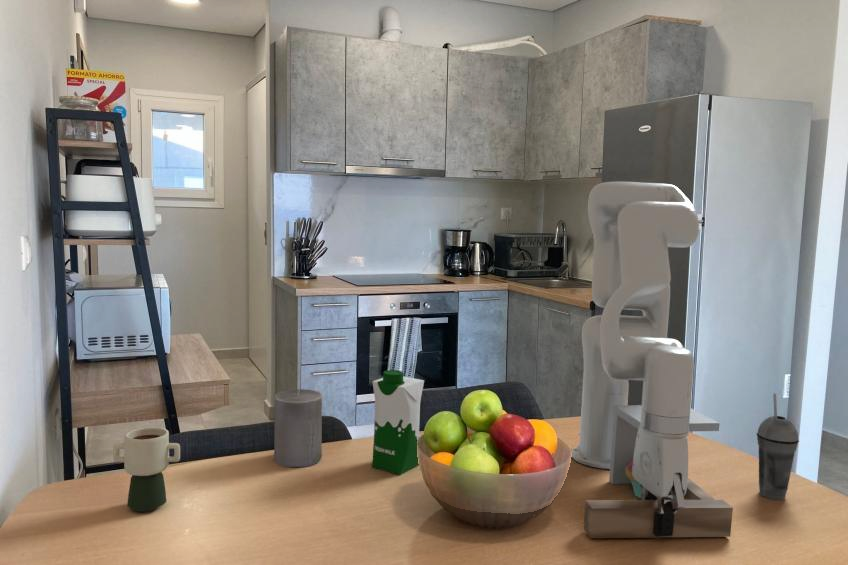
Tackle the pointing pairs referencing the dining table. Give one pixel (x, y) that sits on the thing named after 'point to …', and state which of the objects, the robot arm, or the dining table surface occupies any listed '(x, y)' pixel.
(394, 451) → the milk carton
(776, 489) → the beverage cup
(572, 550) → the dining table surface
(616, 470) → the shelf
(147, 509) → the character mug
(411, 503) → the dining table surface
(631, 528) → the wooden corner bracket
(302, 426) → the pillar candle
